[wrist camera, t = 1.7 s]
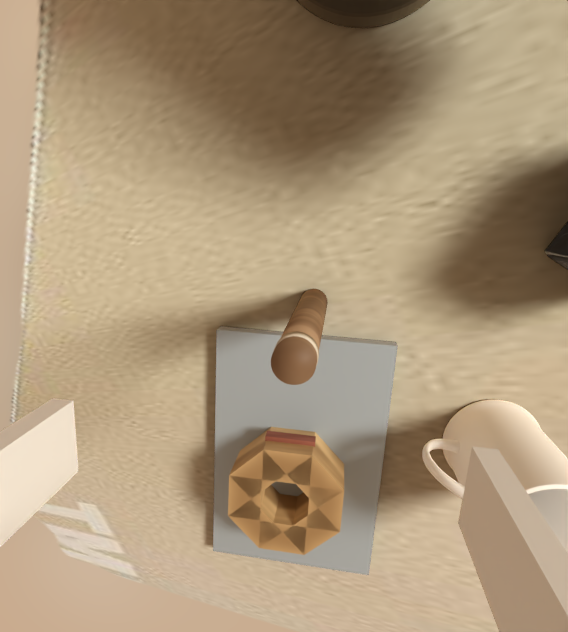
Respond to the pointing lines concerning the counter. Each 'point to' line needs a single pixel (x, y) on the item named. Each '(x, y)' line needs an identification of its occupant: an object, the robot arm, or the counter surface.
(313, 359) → the brown cigar
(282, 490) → the board
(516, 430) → the mug
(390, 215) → the counter surface
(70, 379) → the counter surface
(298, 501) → the bead
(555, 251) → the box
